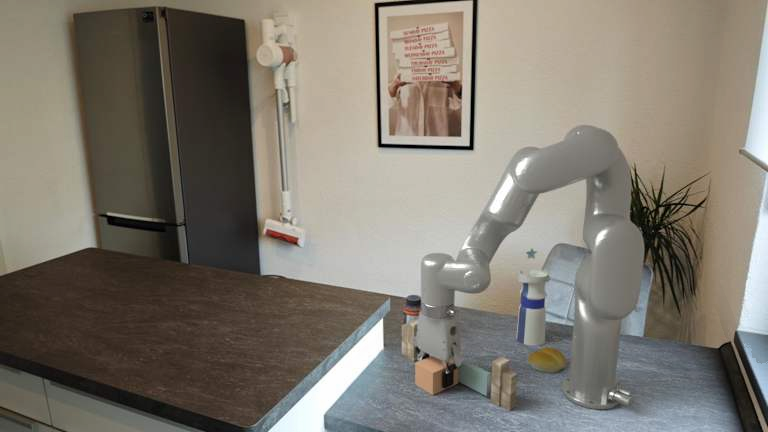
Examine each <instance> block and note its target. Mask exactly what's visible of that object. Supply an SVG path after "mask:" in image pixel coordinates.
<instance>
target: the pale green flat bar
mask: <svg viewBox="0 0 768 432" xmlns="http://www.w3.org/2000/svg"><path fill="white" fill-rule="evenodd" d="M418 356H419V354H418ZM430 356H431V355H430ZM430 356H429V357H430ZM454 360H455V359H454ZM417 361H421V360H419V358H418V360H417ZM464 361H465V363H464V364H462V365H461V366H460V367H458V383H460V384H463V385H465V386H467V387H468V388H470V389H472V390H474V391H475V392H478V393H480V394H481V395H484V396H485V397H487V398H488V399H491V381H492V372H489V371H487V370H485V369H483V368H481V367H479V366H477V365H475V364H473V363H470V362H469V361H466V360H465V359H464Z"/></svg>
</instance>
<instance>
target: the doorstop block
mask: <svg viewBox="0 0 768 432" xmlns="http://www.w3.org/2000/svg"><path fill="white" fill-rule="evenodd" d="M454 361H455V360H454ZM447 362H448V366H450V362H449V361H447ZM414 366H415V367H414V370H415V371H414V373H415V374H414V379H415V380H414V381H415V383H414V384H415V385H416V386H417V387H419V388H421V389H422V390H424V391H426V392H427V393H428V394H430V395H432V396H434V395H436V394H439V393H441V392H443V391H445V390H447V389H450V388H451V387H454V386H456V385H458V384H459V381H458V368H457V369H456V370H454V383H453V385H451V386H449V387H447V388H446V389H444V388H443V387H442V373H443V372H444V368H443V364H442V360H440V359H438V358H436V357H434V356H430V357H428V358H426V359H423V360H421V361H419V360H417V361H415V365H414Z"/></svg>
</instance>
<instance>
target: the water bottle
mask: <svg viewBox="0 0 768 432" xmlns="http://www.w3.org/2000/svg"><path fill="white" fill-rule="evenodd" d="M525 253H526V254H527V255H528V256H527V257H526V259H527V260H529V259H531V258H532V260H533V259H536V258H535V255H536V254H537V253H538V251H535V250H534V249H533V248H532V247H531V249H530V250H529V251H526V252H525ZM550 280H551V278H550V274H549V272H547V271H546V270H544V269H540V268H534V267H533V268H530V269H529V275H526V274H524V273H523V271H522V270H519V272H518V283H519V282H520V283H522V287H521V290H520V291H519V300H520V304H519V307H518V317H517V328H516V334H515V336H516V337H515V339H516V340H517V342H518V343H521V344H523V345H526V346H530V347H534V346H535V347H536V346H541V345H543V344H546V343H545V342H546V320H547V318H546V317H547V310H546V306H545V302H546V301H545V300H546V297H547V296H548V294H547V292H546V288H545V287H546V283H548V282H550Z"/></svg>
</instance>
